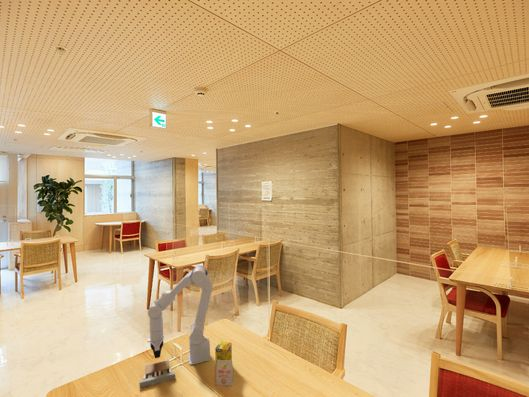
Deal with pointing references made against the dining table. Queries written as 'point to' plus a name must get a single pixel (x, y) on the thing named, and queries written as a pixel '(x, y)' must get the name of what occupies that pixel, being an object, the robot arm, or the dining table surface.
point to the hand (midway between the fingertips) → (157, 357)
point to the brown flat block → (157, 369)
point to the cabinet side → (157, 379)
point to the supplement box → (223, 351)
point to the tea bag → (224, 373)
